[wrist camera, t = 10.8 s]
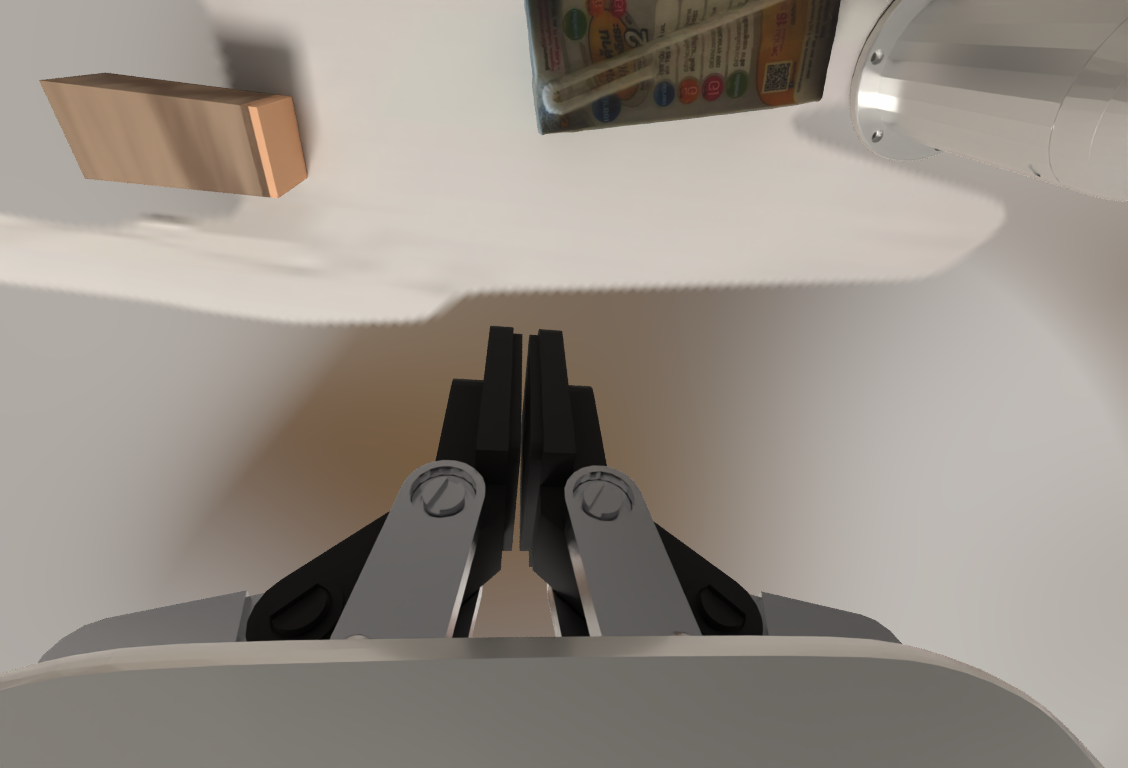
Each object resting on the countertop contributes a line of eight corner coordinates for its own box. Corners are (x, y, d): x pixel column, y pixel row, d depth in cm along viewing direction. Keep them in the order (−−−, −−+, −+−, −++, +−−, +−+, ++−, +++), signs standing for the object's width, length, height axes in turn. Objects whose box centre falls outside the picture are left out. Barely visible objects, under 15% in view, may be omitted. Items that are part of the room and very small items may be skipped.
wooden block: (256, 107, 29) (39, 80, 28) (278, 198, 32) (84, 178, 31) (291, 96, 33) (105, 72, 32) (307, 177, 37) (139, 159, 35)
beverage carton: (520, -10, 31) (519, -17, 26) (809, -46, 31) (868, -61, 26) (536, 125, 36) (539, 142, 30) (786, 95, 36) (831, 106, 30)
